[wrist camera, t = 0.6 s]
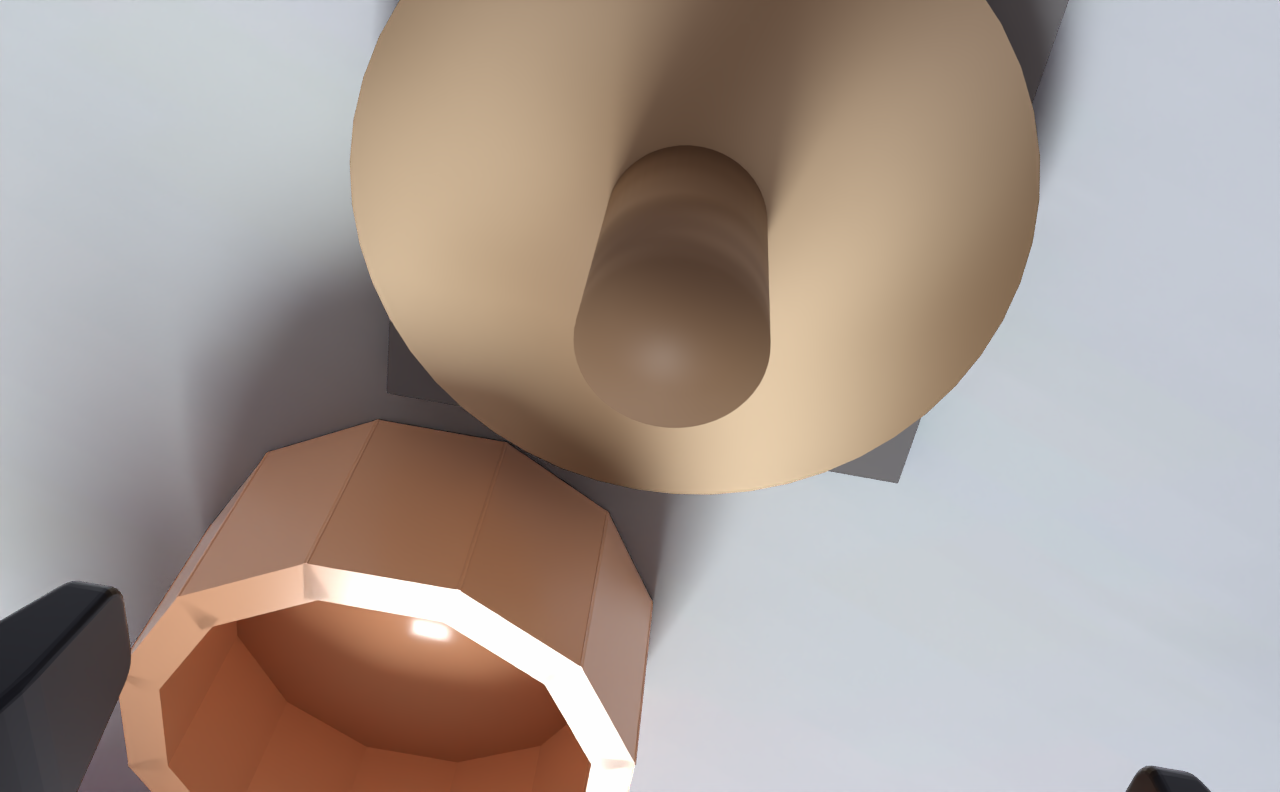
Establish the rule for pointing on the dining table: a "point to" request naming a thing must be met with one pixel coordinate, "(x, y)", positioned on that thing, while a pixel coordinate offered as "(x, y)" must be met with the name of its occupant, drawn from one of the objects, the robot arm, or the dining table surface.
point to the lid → (695, 222)
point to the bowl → (395, 629)
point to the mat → (1031, 23)
